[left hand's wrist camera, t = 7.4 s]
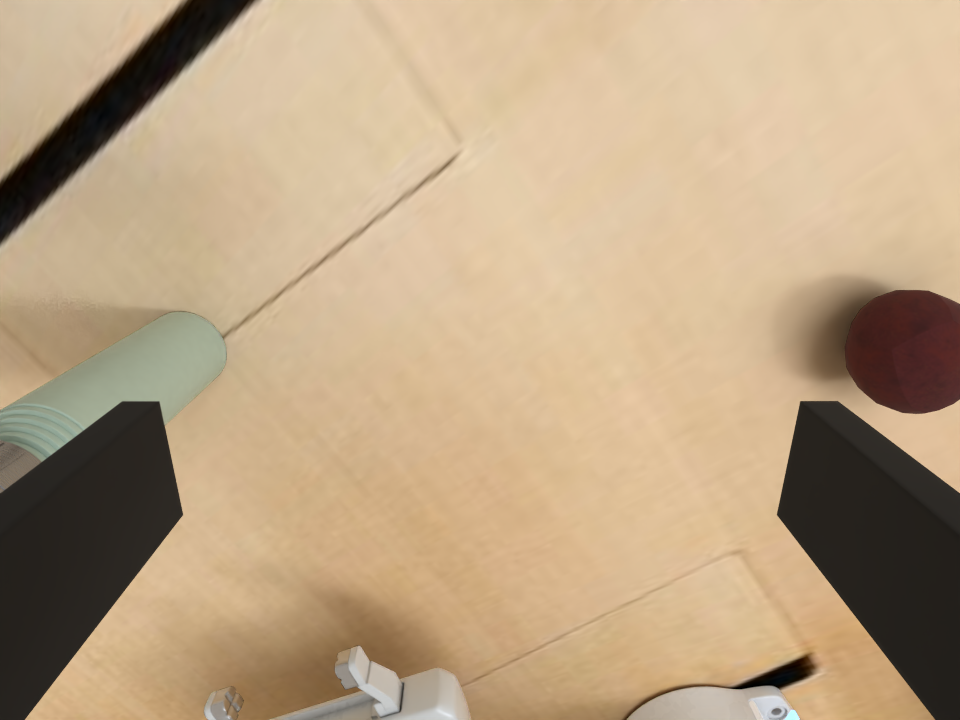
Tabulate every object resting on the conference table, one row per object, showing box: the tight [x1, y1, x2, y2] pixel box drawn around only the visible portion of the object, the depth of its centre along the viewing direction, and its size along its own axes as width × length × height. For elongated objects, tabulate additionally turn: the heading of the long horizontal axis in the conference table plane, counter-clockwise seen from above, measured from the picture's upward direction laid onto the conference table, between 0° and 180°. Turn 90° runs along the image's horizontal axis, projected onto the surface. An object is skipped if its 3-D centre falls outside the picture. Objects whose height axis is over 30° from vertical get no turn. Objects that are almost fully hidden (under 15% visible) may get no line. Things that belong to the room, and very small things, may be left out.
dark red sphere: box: [845, 290, 960, 414], centre depth 38 cm, size 7×8×7 cm
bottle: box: [0, 312, 227, 462], centre depth 33 cm, size 5×5×19 cm
